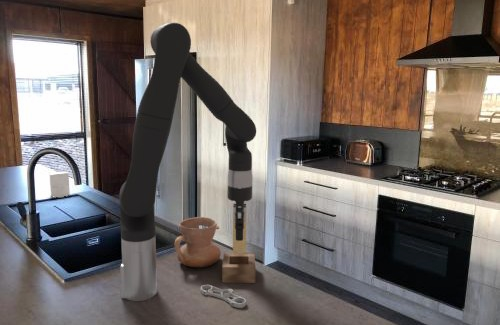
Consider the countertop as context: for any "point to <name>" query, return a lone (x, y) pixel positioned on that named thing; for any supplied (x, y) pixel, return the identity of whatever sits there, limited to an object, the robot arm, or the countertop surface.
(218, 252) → the ceramic jug
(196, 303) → the countertop surface
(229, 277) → the walnut block
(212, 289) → the bracket
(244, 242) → the tan wooden square peg
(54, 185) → the white rectangular block
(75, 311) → the countertop surface
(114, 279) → the countertop surface
